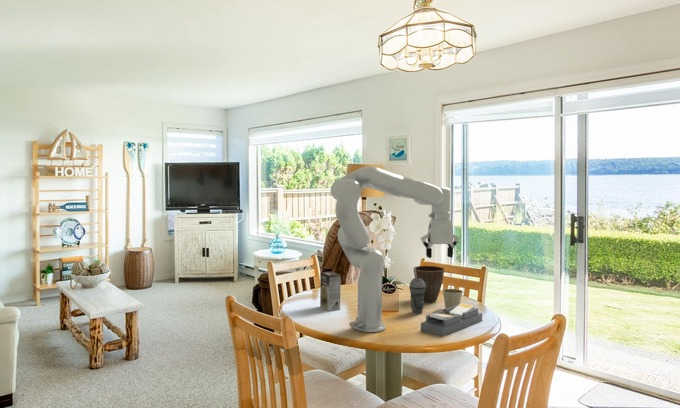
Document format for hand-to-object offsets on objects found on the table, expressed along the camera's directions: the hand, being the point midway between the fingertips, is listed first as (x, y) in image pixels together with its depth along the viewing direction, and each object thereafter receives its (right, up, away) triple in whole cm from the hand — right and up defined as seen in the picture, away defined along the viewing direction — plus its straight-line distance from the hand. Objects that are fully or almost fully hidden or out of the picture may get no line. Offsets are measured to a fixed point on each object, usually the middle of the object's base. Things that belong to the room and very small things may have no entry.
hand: (439, 257), depth 193 cm
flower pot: (+9, -26, +16) cm, 32 cm away
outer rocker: (+9, -22, -3) cm, 23 cm away
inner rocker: (-1, -22, -13) cm, 26 cm away
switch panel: (+4, -27, -8) cm, 28 cm away
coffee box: (-47, -26, +17) cm, 56 cm away
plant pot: (+2, -25, +32) cm, 41 cm away
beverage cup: (-8, -26, +10) cm, 29 cm away
